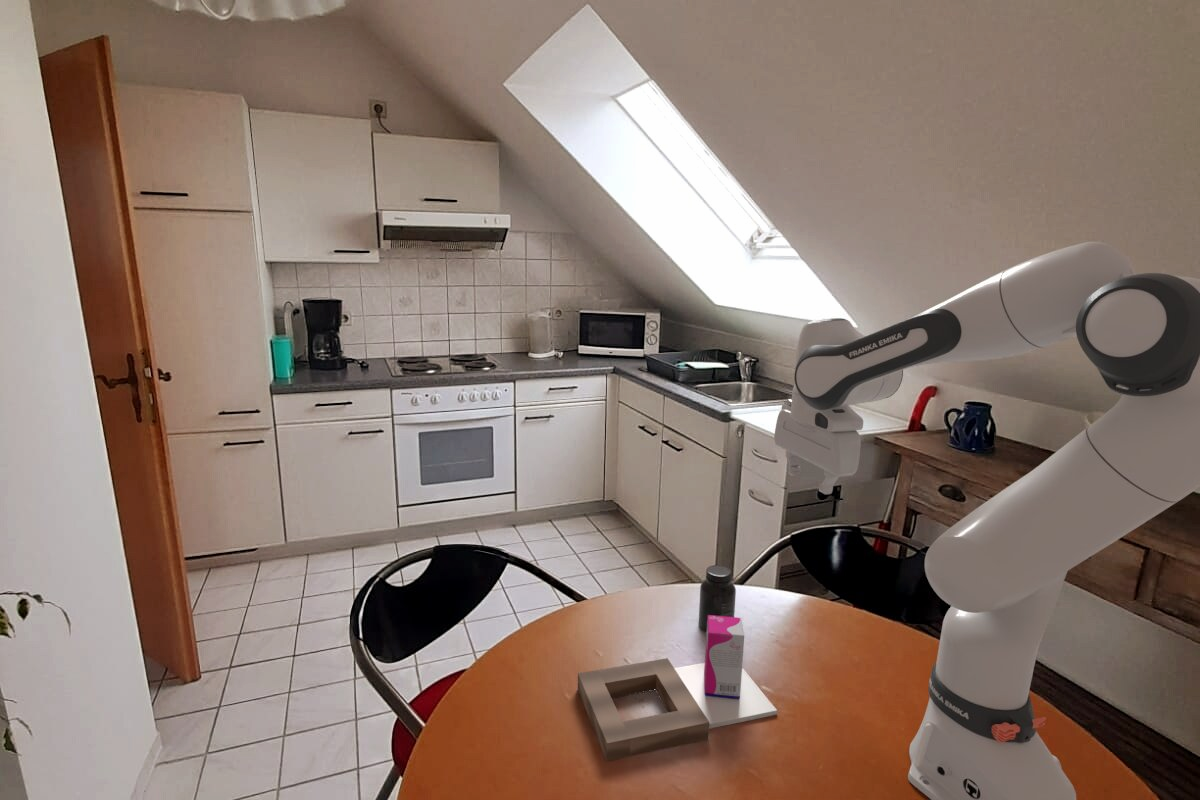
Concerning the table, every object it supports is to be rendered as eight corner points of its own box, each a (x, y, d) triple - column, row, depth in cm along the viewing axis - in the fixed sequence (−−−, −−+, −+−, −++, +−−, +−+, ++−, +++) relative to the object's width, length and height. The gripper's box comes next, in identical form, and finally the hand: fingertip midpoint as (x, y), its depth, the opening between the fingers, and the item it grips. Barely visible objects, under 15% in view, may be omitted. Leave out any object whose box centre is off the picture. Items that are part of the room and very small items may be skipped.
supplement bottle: (731, 618, 128) (735, 563, 125) (735, 638, 121) (739, 580, 118) (697, 615, 128) (700, 561, 126) (698, 635, 122) (702, 577, 119)
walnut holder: (708, 739, 95) (709, 722, 94) (606, 761, 90) (607, 743, 90) (666, 673, 110) (667, 658, 109) (577, 689, 105) (577, 673, 105)
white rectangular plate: (776, 714, 101) (777, 710, 101) (708, 728, 97) (708, 724, 97) (733, 661, 114) (734, 657, 114) (672, 672, 110) (672, 668, 110)
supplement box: (737, 677, 108) (742, 616, 106) (740, 700, 103) (745, 637, 100) (703, 673, 109) (707, 613, 107) (703, 696, 103) (708, 633, 101)
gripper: (769, 397, 121) (763, 466, 124) (838, 424, 102) (829, 505, 105) (798, 396, 123) (791, 464, 126) (870, 423, 104) (860, 502, 107)
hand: (809, 483), depth 115 cm, fingers open, 8 cm apart
